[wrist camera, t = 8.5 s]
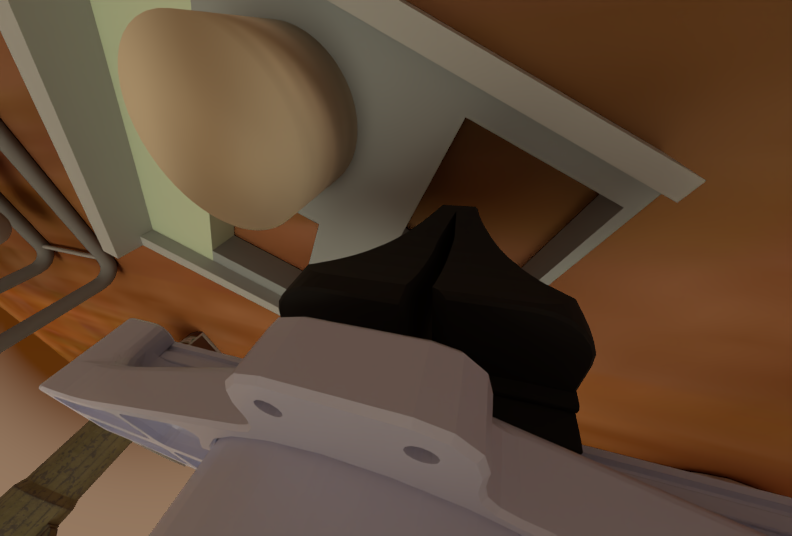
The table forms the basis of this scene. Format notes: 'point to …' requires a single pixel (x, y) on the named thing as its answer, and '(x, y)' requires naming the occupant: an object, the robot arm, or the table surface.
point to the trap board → (376, 137)
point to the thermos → (59, 483)
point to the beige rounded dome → (237, 111)
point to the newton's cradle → (45, 243)
